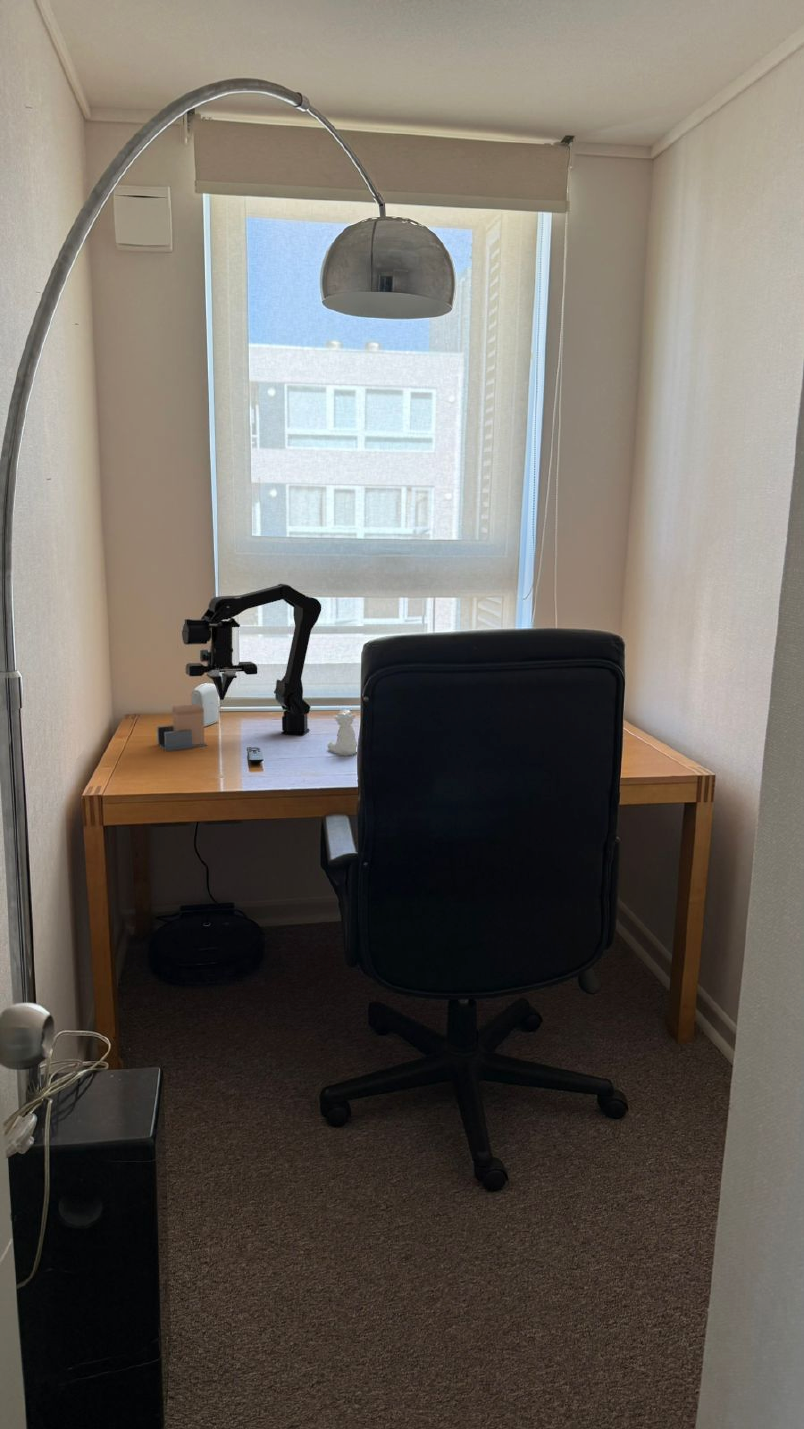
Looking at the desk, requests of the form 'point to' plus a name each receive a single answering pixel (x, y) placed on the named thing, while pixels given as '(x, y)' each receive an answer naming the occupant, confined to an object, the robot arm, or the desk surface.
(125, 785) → the desk surface
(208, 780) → the desk surface
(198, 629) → the robot arm
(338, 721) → the white creature statuette
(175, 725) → the block
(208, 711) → the photo printer
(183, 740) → the chute
